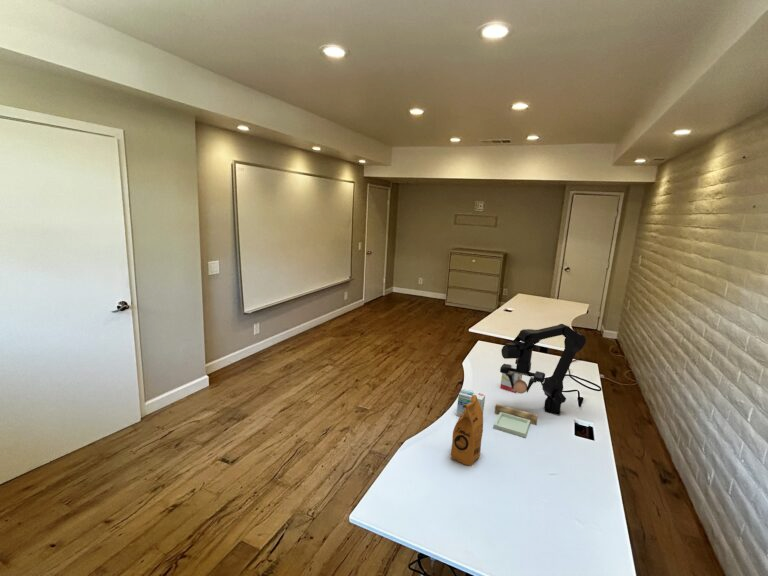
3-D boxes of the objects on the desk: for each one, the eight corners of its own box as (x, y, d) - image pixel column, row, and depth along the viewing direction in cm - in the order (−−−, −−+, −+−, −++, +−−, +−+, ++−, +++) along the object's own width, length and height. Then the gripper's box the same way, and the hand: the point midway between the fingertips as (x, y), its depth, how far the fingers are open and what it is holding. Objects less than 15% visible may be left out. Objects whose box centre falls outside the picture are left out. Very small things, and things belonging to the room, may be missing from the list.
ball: (527, 392, 176) (529, 380, 175) (525, 397, 171) (527, 384, 170) (514, 388, 179) (515, 376, 178) (511, 393, 174) (513, 381, 173)
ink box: (515, 393, 197) (518, 371, 195) (499, 388, 202) (502, 367, 200) (521, 388, 204) (523, 367, 202) (505, 383, 209) (507, 363, 207)
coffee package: (445, 458, 140) (451, 402, 136) (459, 443, 150) (465, 390, 146) (471, 469, 134) (477, 411, 130) (484, 452, 144) (490, 398, 140)
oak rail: (536, 423, 168) (537, 415, 167) (536, 425, 167) (537, 416, 166) (495, 411, 177) (496, 403, 176) (494, 413, 175) (495, 405, 174)
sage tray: (529, 424, 167) (530, 420, 167) (525, 438, 156) (525, 433, 156) (499, 415, 173) (500, 411, 173) (493, 428, 162) (493, 424, 162)
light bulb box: (455, 415, 171) (458, 393, 169) (460, 409, 177) (462, 387, 175) (479, 422, 166) (482, 399, 164) (483, 416, 172) (485, 393, 170)
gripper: (548, 357, 174) (544, 389, 177) (507, 348, 183) (503, 379, 186) (545, 364, 165) (540, 398, 168) (501, 355, 174) (497, 387, 177)
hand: (519, 390), depth 175 cm, fingers closed on ball, 6 cm apart
